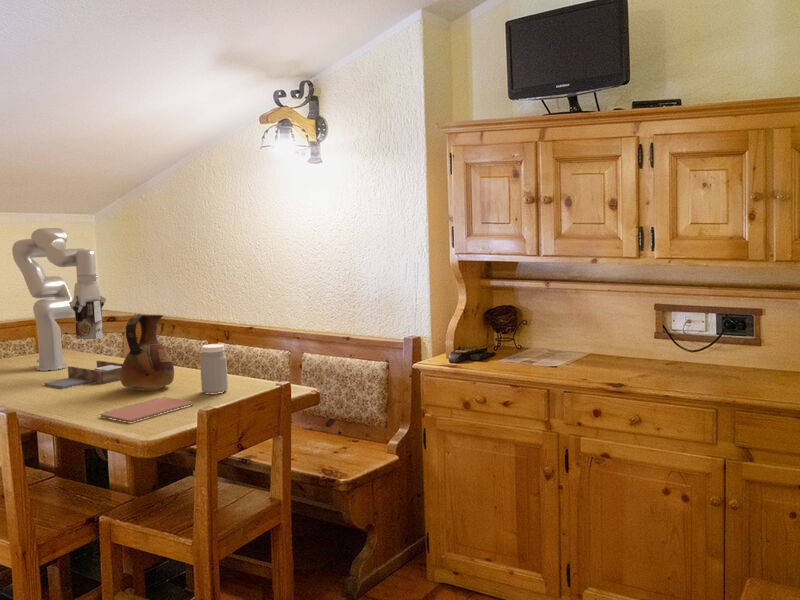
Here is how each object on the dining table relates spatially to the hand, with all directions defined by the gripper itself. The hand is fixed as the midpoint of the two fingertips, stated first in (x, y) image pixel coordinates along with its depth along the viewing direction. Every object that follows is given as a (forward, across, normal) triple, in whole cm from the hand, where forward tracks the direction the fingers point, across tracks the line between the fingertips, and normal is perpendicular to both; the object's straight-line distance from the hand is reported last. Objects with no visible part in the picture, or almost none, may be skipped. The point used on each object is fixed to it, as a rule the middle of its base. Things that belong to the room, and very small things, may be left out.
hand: (88, 319), depth 318 cm
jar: (+23, -4, +69) cm, 73 cm away
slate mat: (+24, +15, +5) cm, 29 cm away
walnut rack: (+24, 0, +6) cm, 25 cm away
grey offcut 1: (+24, 0, +10) cm, 26 cm away
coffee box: (+8, 0, 0) cm, 8 cm away
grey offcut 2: (+24, 0, +14) cm, 28 cm away
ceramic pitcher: (+24, +5, +42) cm, 48 cm away
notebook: (+24, +28, +69) cm, 78 cm away
